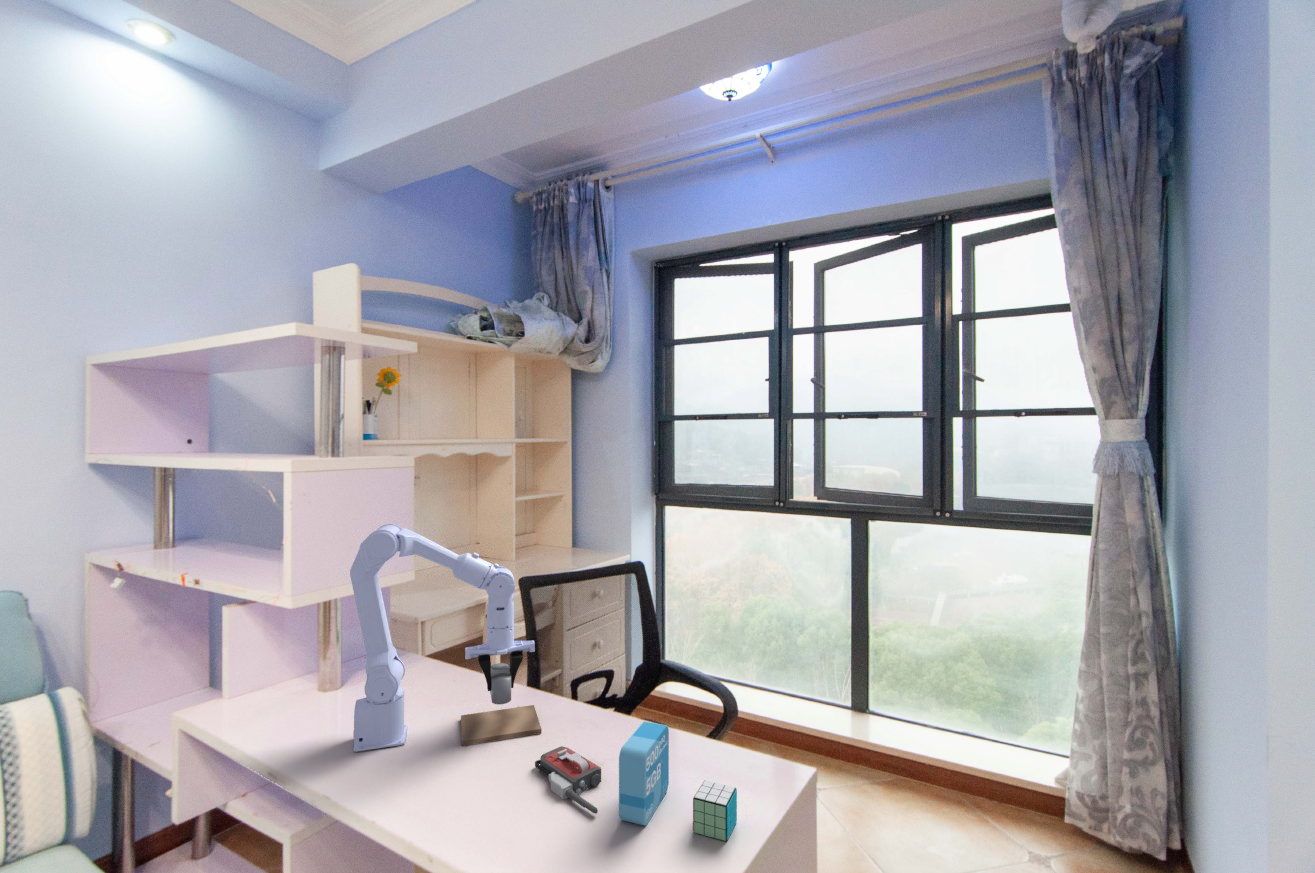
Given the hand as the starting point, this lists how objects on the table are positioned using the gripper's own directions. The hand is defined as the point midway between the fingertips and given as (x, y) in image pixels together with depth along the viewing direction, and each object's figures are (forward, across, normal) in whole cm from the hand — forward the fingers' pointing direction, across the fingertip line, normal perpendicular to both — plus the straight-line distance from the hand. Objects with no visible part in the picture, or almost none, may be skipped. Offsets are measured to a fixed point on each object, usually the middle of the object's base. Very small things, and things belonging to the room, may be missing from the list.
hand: (500, 687), depth 131 cm
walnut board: (+8, 0, 0) cm, 8 cm away
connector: (+1, 0, +1) cm, 2 cm away
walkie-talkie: (+9, +11, -27) cm, 31 cm away
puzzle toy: (+9, +30, -46) cm, 56 cm away
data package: (+9, +21, -37) cm, 43 cm away
